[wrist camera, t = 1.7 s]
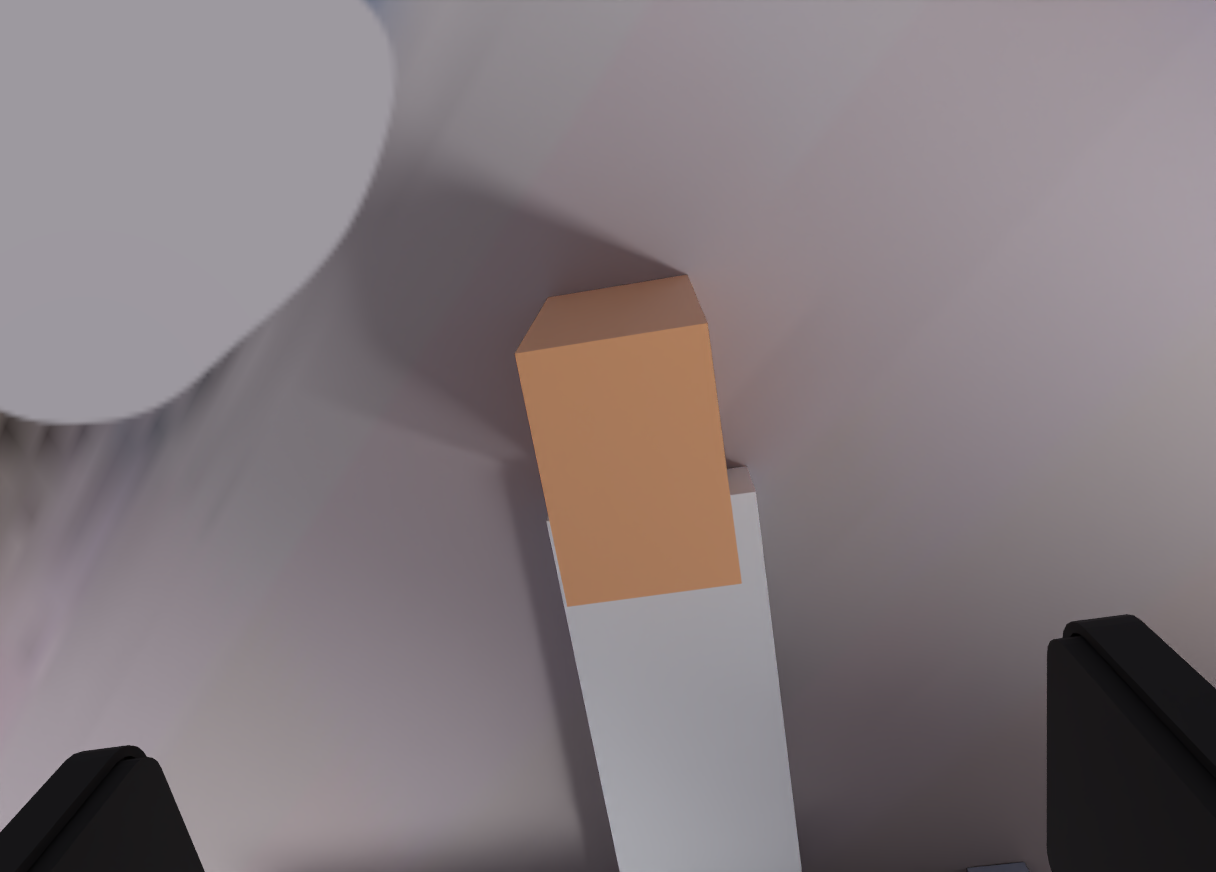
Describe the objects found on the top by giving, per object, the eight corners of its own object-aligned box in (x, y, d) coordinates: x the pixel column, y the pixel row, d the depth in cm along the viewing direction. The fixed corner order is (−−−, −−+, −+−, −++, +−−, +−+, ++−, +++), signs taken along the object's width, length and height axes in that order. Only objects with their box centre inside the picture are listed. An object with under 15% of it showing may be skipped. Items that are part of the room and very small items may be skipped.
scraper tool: (722, 268, 23) (756, 314, 17) (799, 894, 31) (845, 1098, 24) (513, 302, 24) (467, 361, 17) (638, 910, 31) (638, 1115, 25)
